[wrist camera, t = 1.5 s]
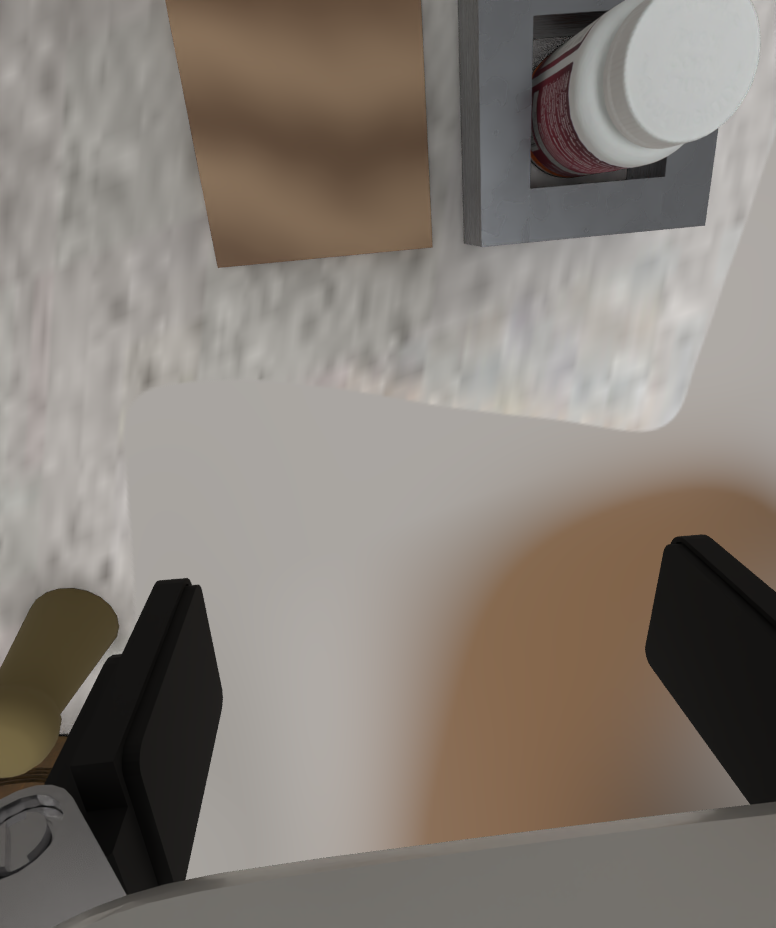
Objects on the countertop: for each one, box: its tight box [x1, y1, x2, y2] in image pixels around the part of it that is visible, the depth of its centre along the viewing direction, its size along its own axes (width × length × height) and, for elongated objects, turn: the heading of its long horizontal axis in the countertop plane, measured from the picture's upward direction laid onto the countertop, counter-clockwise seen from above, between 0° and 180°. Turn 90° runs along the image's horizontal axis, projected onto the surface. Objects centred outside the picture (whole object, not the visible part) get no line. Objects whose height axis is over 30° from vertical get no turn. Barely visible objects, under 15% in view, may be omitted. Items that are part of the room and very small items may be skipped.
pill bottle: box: [531, 0, 760, 178], centre depth 25 cm, size 6×6×11 cm
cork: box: [0, 588, 119, 778], centre depth 35 cm, size 6×6×11 cm
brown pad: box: [165, 0, 432, 268], centre depth 29 cm, size 12×12×1 cm
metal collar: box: [458, 0, 718, 247], centre depth 29 cm, size 12×12×4 cm
